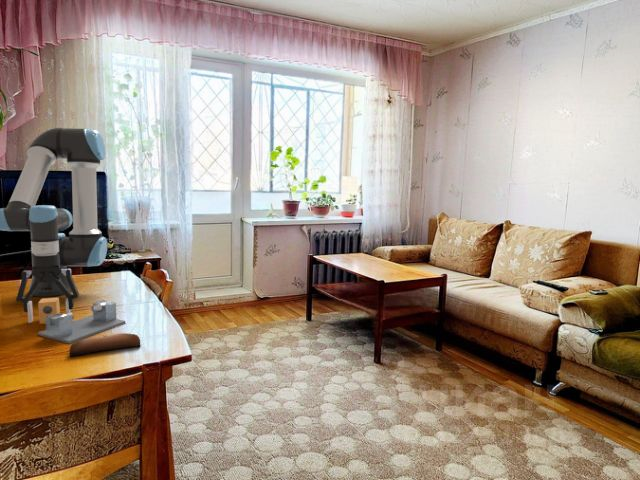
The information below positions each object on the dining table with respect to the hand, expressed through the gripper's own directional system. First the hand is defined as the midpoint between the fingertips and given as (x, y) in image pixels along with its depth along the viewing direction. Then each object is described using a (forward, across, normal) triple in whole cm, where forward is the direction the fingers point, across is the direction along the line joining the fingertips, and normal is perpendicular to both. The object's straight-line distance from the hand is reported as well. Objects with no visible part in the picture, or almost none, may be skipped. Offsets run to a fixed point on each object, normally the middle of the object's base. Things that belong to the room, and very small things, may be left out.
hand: (49, 320), depth 149 cm
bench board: (0, +11, -11) cm, 16 cm away
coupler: (0, 0, 0) cm, 0 cm away
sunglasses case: (+1, +19, -29) cm, 34 cm away
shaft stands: (0, +11, -11) cm, 16 cm away
